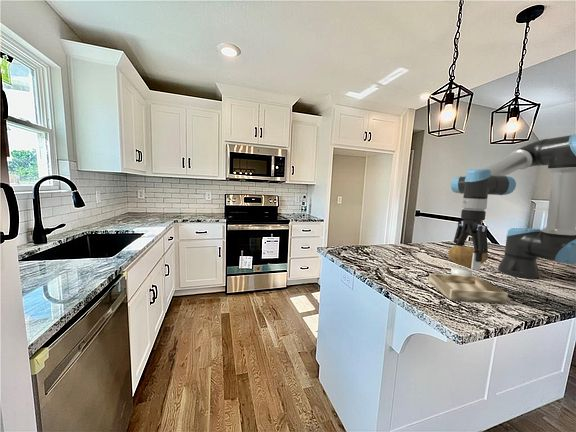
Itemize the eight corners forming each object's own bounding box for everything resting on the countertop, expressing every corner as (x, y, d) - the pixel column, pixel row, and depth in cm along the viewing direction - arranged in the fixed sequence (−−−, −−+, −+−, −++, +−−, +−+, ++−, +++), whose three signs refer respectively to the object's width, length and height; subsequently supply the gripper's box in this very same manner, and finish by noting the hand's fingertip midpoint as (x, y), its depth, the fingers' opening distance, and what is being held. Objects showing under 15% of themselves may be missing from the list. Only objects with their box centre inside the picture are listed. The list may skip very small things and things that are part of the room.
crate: (474, 284, 107) (476, 276, 106) (506, 303, 89) (508, 293, 89) (428, 282, 108) (429, 273, 108) (450, 300, 91) (451, 290, 91)
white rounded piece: (464, 275, 118) (465, 267, 117) (475, 282, 110) (476, 273, 109) (446, 274, 118) (447, 266, 118) (456, 281, 110) (457, 272, 110)
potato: (494, 271, 92) (497, 250, 91) (455, 269, 93) (458, 249, 92) (476, 263, 102) (479, 244, 101) (441, 261, 103) (443, 243, 102)
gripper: (447, 206, 106) (442, 256, 109) (483, 212, 84) (475, 274, 87) (465, 207, 105) (459, 257, 108) (506, 213, 83) (498, 275, 86)
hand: (466, 265), depth 97 cm, fingers closed on potato, 10 cm apart
